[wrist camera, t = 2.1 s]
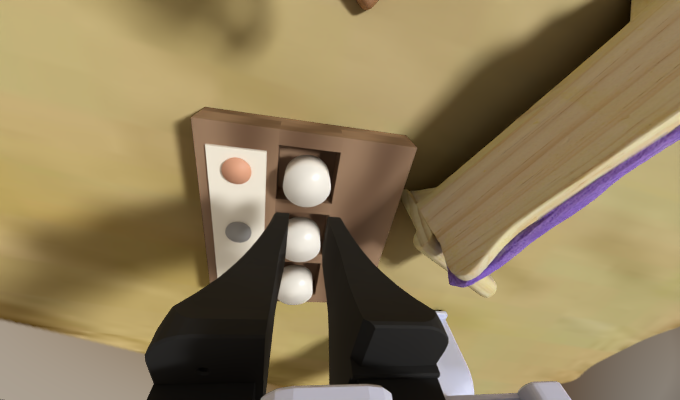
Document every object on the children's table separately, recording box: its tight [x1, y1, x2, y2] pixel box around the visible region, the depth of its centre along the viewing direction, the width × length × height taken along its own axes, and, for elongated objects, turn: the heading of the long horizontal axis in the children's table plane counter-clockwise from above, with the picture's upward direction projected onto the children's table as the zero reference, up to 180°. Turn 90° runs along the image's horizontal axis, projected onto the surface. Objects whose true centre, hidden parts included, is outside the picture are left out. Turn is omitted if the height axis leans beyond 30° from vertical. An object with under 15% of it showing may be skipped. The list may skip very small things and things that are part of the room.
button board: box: [191, 107, 417, 302], centre depth 22 cm, size 14×16×2 cm
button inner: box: [278, 265, 313, 305], centre depth 23 cm, size 3×3×2 cm
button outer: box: [283, 155, 331, 207], centre depth 18 cm, size 3×3×2 cm
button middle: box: [285, 217, 320, 262], centre depth 20 cm, size 3×3×2 cm
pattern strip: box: [205, 144, 267, 278], centre depth 20 cm, size 4×13×1 cm, turn 170°
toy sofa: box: [400, 0, 680, 298], centre depth 17 cm, size 21×9×10 cm, turn 138°
